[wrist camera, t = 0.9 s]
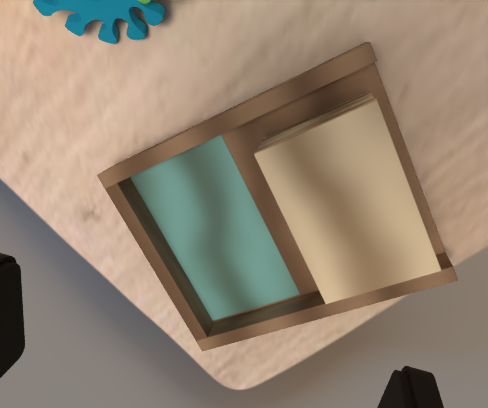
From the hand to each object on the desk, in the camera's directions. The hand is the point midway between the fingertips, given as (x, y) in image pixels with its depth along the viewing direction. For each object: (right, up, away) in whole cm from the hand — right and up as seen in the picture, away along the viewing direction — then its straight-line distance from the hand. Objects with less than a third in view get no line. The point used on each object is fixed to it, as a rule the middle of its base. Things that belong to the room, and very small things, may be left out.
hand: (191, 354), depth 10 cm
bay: (+4, +3, +24) cm, 24 cm away
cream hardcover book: (+9, +5, +21) cm, 23 cm away
